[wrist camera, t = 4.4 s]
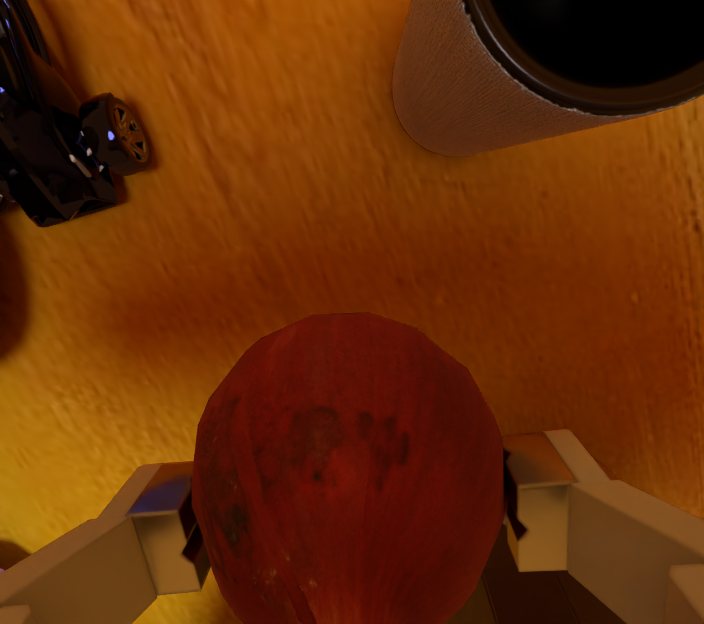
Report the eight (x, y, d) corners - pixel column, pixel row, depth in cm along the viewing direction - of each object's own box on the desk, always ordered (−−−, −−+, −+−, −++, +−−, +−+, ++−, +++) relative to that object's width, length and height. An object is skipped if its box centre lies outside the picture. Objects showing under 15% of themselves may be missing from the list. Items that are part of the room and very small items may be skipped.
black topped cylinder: (556, 68, 15) (970, -169, 5) (466, 184, 16) (645, 192, 6) (450, -27, 14) (669, -543, 4) (363, 101, 15) (365, -50, 5)
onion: (207, 396, 12) (-35, 742, 5) (328, 231, 11) (260, 349, 3) (370, 501, 13) (385, 932, 6) (500, 362, 12) (749, 683, 4)
